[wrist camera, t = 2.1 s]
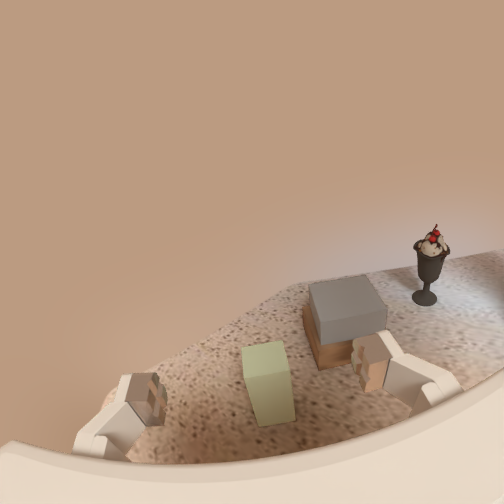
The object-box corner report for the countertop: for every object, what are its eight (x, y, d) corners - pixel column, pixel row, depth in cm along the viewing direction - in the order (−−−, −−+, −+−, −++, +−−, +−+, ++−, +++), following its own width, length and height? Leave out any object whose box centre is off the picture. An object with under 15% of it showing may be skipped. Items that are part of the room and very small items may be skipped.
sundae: (421, 313, 42) (433, 231, 36) (401, 293, 48) (407, 216, 42) (447, 302, 43) (461, 223, 36) (427, 284, 49) (435, 210, 42)
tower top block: (364, 296, 44) (365, 274, 42) (384, 332, 36) (387, 309, 34) (309, 305, 44) (308, 284, 43) (321, 345, 36) (320, 322, 34)
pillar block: (289, 393, 35) (282, 339, 30) (295, 420, 30) (290, 369, 26) (255, 399, 35) (240, 347, 30) (258, 427, 30) (243, 378, 26)
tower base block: (360, 315, 46) (361, 293, 44) (384, 354, 37) (388, 332, 35) (303, 328, 46) (302, 307, 44) (319, 372, 37) (318, 350, 35)
